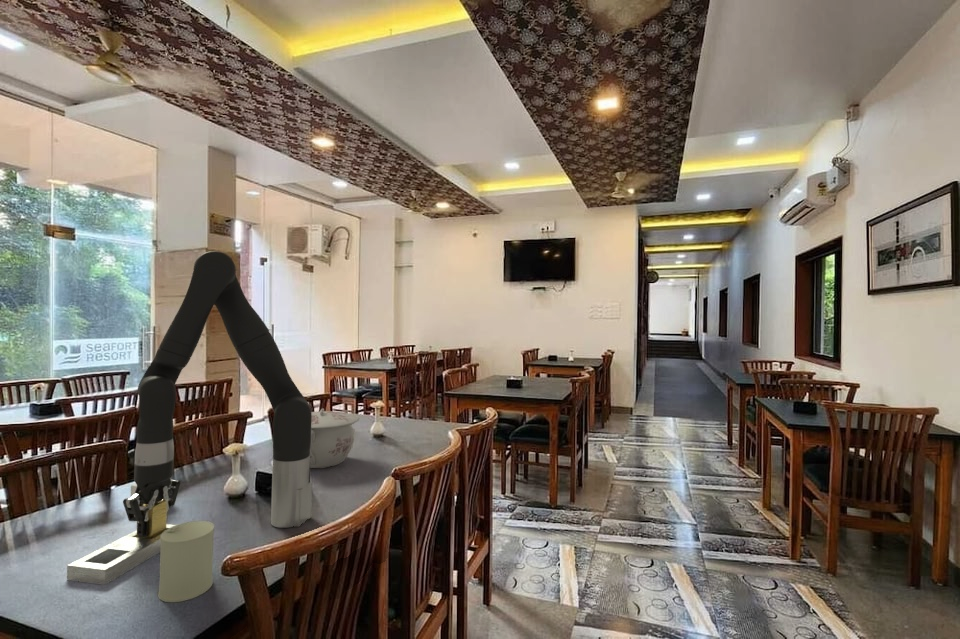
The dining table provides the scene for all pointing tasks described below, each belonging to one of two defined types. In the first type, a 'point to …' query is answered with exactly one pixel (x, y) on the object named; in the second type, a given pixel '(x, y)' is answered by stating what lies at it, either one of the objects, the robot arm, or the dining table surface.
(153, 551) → the rail
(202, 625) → the dining table surface
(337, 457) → the chamber pot
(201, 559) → the can
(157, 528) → the yellow block
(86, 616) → the dining table surface
